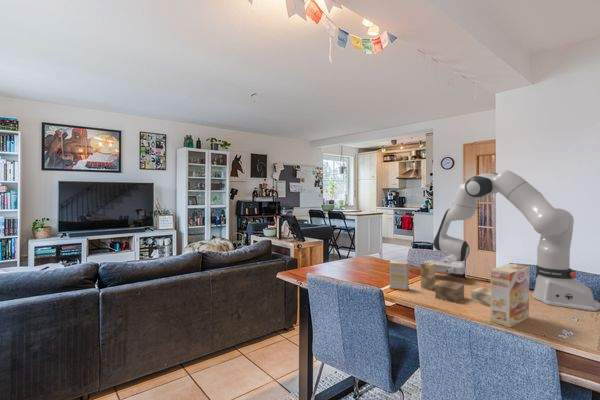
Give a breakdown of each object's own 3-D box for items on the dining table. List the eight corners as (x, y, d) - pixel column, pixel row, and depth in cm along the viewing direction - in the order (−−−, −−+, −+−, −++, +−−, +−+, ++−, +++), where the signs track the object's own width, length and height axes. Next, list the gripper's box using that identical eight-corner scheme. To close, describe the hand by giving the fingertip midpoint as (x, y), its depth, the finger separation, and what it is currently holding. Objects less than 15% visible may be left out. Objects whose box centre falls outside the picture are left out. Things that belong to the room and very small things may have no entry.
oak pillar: (435, 287, 160) (435, 263, 159) (431, 290, 156) (431, 265, 156) (425, 285, 163) (425, 262, 163) (420, 288, 160) (420, 263, 159)
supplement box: (409, 288, 160) (409, 261, 159) (406, 291, 156) (406, 263, 155) (392, 286, 164) (392, 260, 164) (389, 288, 160) (389, 262, 159)
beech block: (499, 303, 139) (499, 291, 139) (491, 307, 134) (491, 295, 134) (479, 298, 145) (479, 287, 145) (471, 302, 140) (471, 290, 140)
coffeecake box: (510, 328, 114) (510, 272, 113) (489, 321, 120) (489, 268, 119) (530, 318, 122) (530, 266, 121) (509, 312, 128) (509, 262, 127)
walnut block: (464, 298, 145) (464, 284, 145) (456, 303, 139) (456, 289, 139) (443, 293, 152) (443, 280, 152) (435, 298, 145) (435, 285, 145)
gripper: (429, 256, 185) (418, 260, 175) (468, 261, 171) (458, 266, 161) (429, 267, 185) (418, 272, 176) (468, 273, 171) (458, 279, 161)
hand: (438, 269), depth 168 cm, fingers open, 8 cm apart
